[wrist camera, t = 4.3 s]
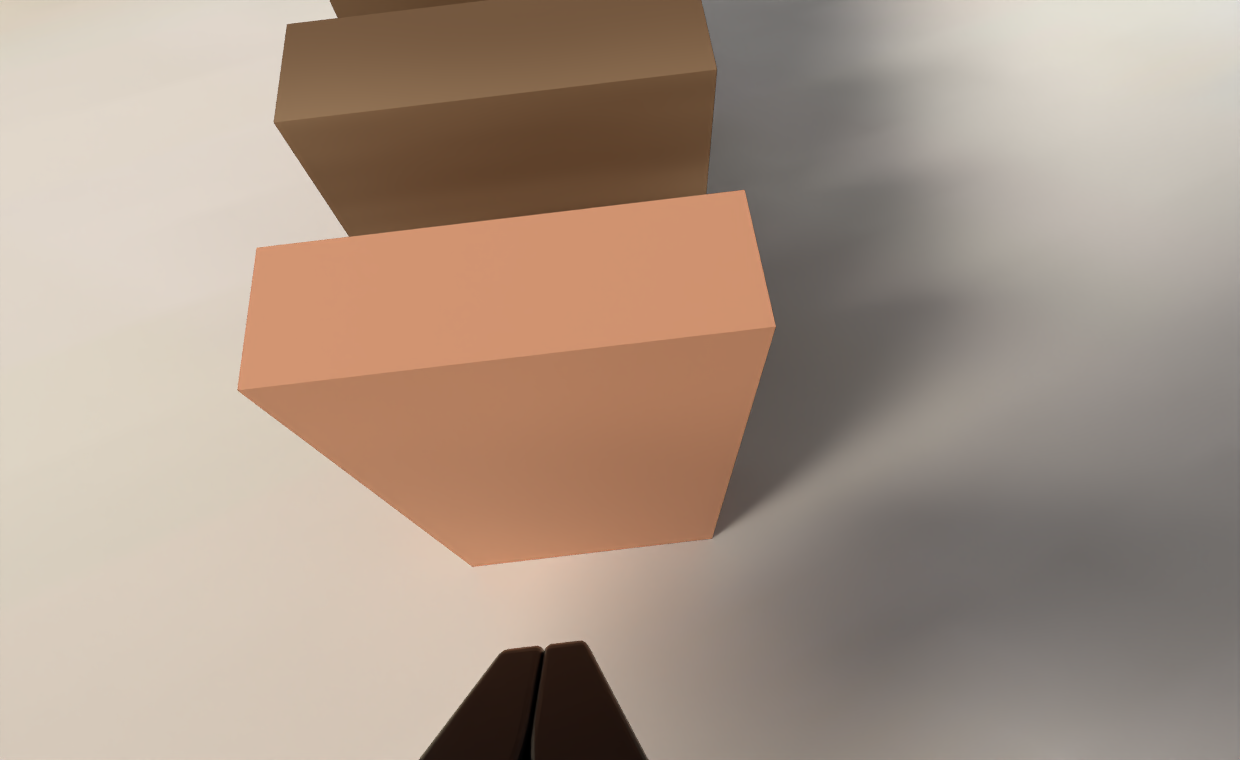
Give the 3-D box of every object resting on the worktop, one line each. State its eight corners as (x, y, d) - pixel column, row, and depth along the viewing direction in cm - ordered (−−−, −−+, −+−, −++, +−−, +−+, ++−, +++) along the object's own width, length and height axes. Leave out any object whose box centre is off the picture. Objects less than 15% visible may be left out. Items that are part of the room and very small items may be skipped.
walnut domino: (688, 393, 16) (717, 68, 8) (469, 419, 16) (273, 122, 8) (678, 331, 17) (695, -25, 9) (469, 356, 17) (286, 23, 9)
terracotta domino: (712, 538, 15) (775, 326, 7) (472, 566, 15) (236, 389, 7) (700, 464, 15) (745, 189, 7) (470, 492, 15) (256, 248, 7)
